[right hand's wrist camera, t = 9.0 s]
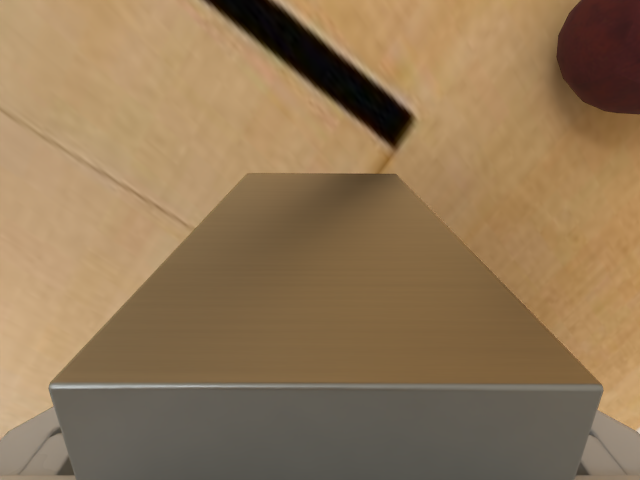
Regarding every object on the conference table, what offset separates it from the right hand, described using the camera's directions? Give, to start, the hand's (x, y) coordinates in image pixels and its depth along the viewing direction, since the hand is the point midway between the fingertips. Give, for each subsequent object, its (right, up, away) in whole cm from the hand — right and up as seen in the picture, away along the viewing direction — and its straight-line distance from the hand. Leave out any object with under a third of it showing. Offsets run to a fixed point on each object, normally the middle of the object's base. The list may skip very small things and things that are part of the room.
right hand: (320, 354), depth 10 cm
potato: (+17, +15, +13) cm, 26 cm away
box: (0, -4, +9) cm, 10 cm away
